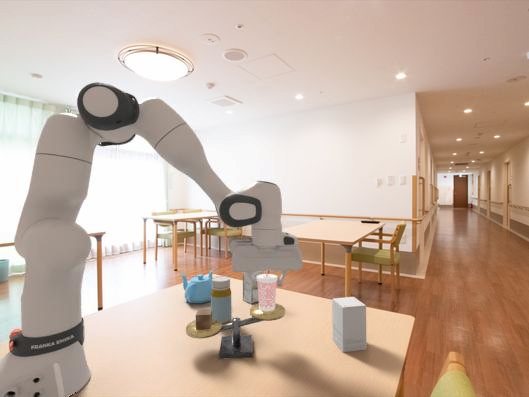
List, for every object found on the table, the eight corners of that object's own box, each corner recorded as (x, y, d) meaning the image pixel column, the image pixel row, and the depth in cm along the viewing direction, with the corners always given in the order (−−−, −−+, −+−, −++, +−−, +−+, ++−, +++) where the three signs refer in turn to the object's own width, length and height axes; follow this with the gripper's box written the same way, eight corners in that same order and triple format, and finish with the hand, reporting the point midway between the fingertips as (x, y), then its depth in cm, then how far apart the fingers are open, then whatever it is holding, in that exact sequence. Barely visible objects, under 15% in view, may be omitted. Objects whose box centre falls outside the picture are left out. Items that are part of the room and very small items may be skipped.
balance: (182, 362, 73) (182, 321, 73) (189, 342, 83) (189, 305, 83) (287, 356, 76) (287, 316, 75) (282, 337, 86) (282, 301, 85)
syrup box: (253, 296, 120) (252, 263, 119) (262, 300, 115) (262, 265, 115) (242, 300, 116) (242, 265, 116) (251, 304, 111) (251, 268, 111)
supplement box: (367, 350, 78) (367, 305, 78) (342, 352, 77) (342, 307, 77) (354, 336, 86) (354, 296, 85) (331, 339, 84) (331, 297, 84)
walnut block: (195, 329, 76) (195, 315, 76) (198, 322, 80) (197, 309, 80) (210, 328, 77) (210, 314, 77) (212, 322, 81) (212, 308, 81)
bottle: (227, 327, 92) (227, 282, 92) (207, 325, 94) (207, 281, 94) (234, 318, 99) (233, 276, 99) (215, 316, 101) (215, 275, 100)
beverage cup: (252, 308, 79) (251, 260, 79) (264, 302, 84) (264, 256, 84) (269, 314, 76) (269, 263, 76) (281, 306, 81) (281, 258, 80)
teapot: (184, 308, 108) (184, 282, 108) (180, 295, 122) (179, 272, 122) (221, 302, 114) (221, 277, 114) (213, 290, 128) (213, 268, 128)
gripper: (229, 240, 76) (230, 290, 76) (303, 239, 77) (303, 288, 78) (230, 236, 82) (230, 283, 82) (299, 235, 84) (299, 281, 84)
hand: (266, 285), depth 80 cm, fingers closed on beverage cup, 6 cm apart
